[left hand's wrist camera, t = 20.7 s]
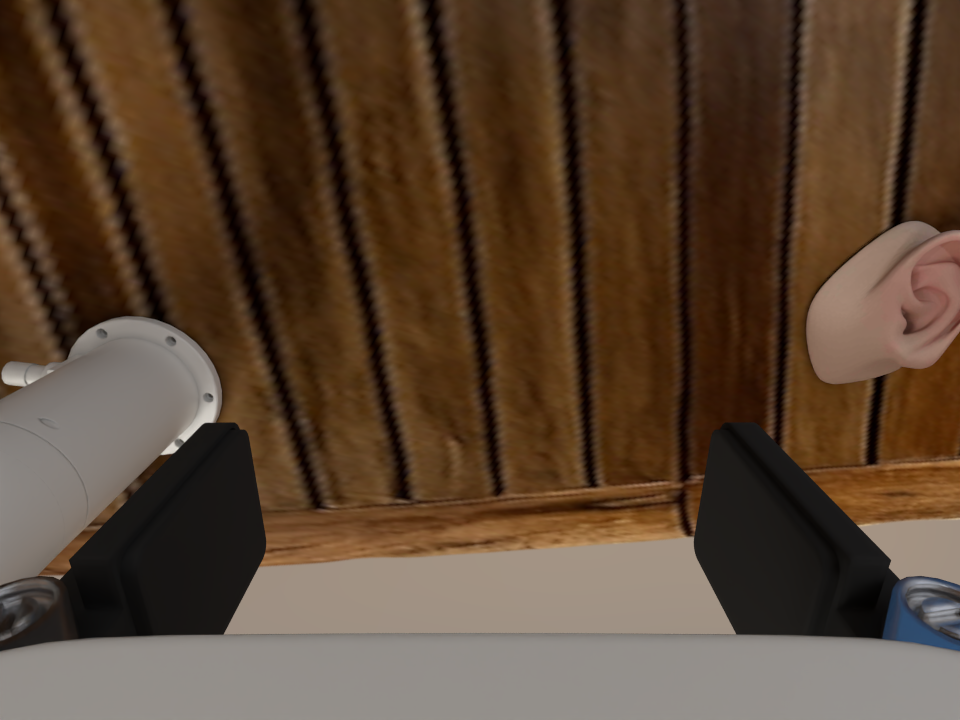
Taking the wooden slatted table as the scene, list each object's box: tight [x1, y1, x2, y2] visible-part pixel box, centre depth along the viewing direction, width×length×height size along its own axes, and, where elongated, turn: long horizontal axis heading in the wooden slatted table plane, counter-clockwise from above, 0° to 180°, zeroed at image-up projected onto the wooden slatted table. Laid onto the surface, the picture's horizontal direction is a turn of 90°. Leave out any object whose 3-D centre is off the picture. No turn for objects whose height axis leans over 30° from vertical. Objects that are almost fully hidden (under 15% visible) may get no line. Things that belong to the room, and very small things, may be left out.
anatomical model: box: [806, 221, 960, 384], centre depth 44 cm, size 13×4×12 cm
